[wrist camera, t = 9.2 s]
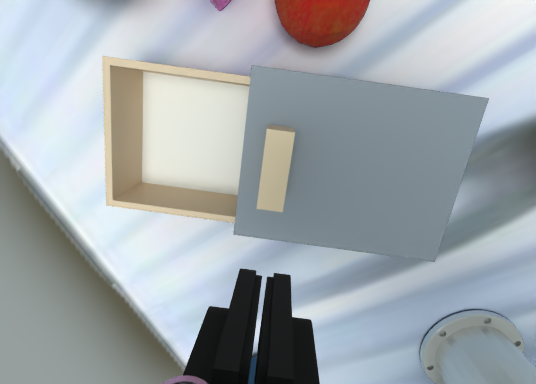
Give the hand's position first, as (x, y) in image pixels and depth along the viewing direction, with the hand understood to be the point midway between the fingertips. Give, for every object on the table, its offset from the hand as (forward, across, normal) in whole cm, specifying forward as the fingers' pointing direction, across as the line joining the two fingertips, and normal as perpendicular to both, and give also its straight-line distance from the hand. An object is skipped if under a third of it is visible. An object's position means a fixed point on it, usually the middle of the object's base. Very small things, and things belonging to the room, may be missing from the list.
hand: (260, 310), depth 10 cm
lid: (+19, -6, -2) cm, 20 cm away
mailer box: (+25, +6, -2) cm, 26 cm away
